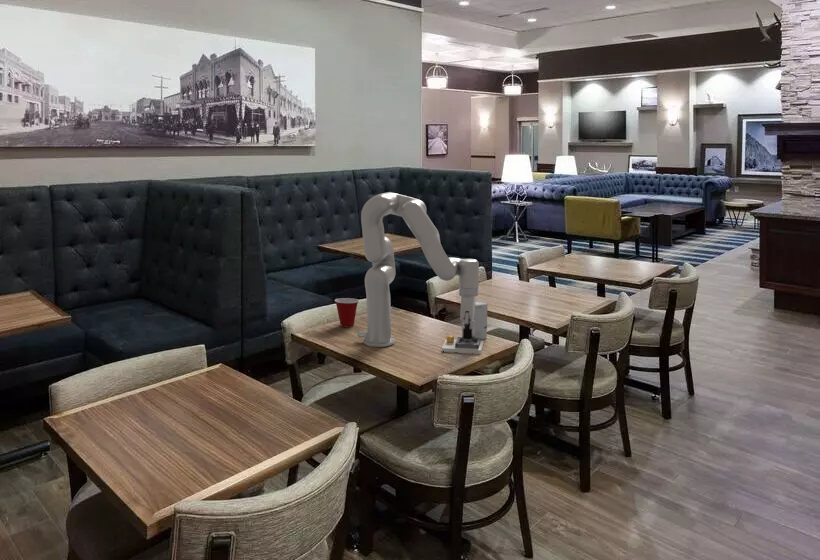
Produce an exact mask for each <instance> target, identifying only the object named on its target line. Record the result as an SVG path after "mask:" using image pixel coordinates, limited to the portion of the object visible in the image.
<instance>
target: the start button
mask: <svg viewBox="0 0 820 560" xmlns="http://www.w3.org/2000/svg"><path fill="white" fill-rule="evenodd" d="M454 339H455V335H451V334H450V335H449V334H448V335H446V339H445V340H446V342H449V343H451V342H454Z"/></svg>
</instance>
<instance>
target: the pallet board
mask: <svg viewBox="0 0 820 560" xmlns="http://www.w3.org/2000/svg"><path fill="white" fill-rule="evenodd" d="M482 347H484V340H482V339H481V338H475V341H474V342H472V343H466V342H463V341H462V336H458V337H457V339H455V338H454V342H451V343H449V342H446V339H445V340H444V343H443V344H442V347H441V352H442V353H454V352H458V354H472V353H473V355H474V354H475V355H476V354H477V355H481V354H482V351H483V348H482ZM443 351H444V352H443Z"/></svg>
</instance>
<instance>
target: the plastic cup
mask: <svg viewBox="0 0 820 560" xmlns="http://www.w3.org/2000/svg"><path fill="white" fill-rule="evenodd" d="M359 302H360V299H357V298H350V297H342V298H336V299H334V303H335V305H336V309H337V314H338V319H339V324H340V326H341V325H342V326H352V327H354V326H355V319H356V314H357V307H358V304H359ZM353 325H354V326H353ZM342 326H341V327H342Z"/></svg>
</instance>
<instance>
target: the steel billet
mask: <svg viewBox="0 0 820 560" xmlns="http://www.w3.org/2000/svg"><path fill="white" fill-rule="evenodd" d="M469 321H470V320H469ZM469 324H470V323H469ZM463 329H464V320H463V321H461V337H462V341H463V342H466V343H472V342H474V341H475V320H473V321H472V322H471V329H472V339H464V338H463Z"/></svg>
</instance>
